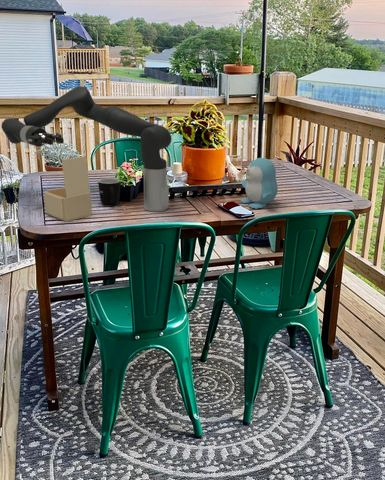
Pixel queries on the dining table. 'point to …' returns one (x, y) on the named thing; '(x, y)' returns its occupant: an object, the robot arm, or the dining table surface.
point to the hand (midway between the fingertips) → (57, 141)
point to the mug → (109, 191)
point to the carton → (67, 205)
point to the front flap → (76, 176)
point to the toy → (260, 183)
